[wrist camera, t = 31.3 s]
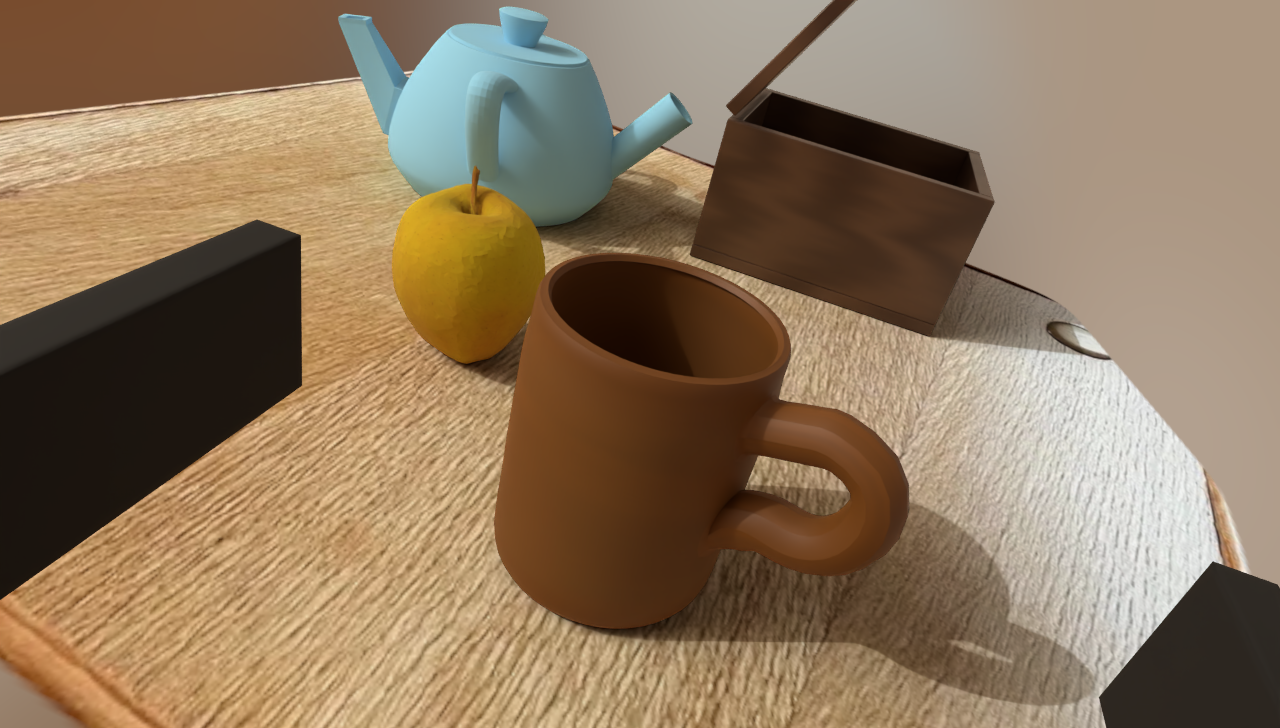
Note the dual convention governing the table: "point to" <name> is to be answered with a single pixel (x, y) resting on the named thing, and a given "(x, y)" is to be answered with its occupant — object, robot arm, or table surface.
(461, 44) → the teapot
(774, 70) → the lid
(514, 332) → the apple
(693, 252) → the chest
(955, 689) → the table surface
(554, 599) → the mug
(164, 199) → the table surface
